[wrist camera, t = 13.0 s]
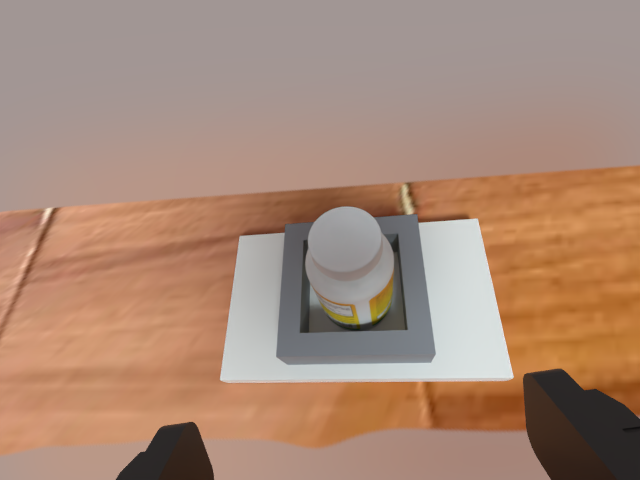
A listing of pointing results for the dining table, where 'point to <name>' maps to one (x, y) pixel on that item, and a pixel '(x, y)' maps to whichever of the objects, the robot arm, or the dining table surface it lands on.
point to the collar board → (388, 336)
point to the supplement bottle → (350, 268)
